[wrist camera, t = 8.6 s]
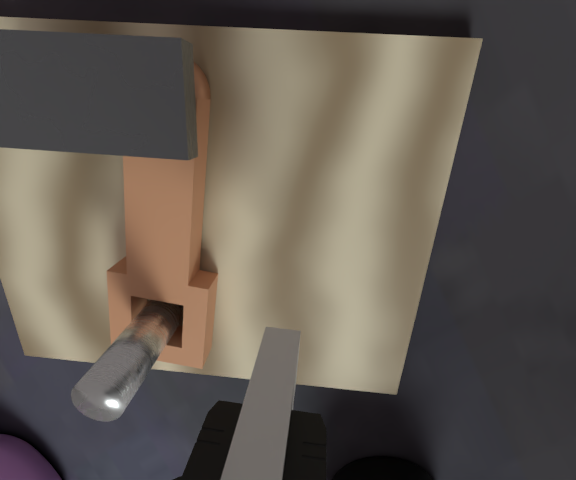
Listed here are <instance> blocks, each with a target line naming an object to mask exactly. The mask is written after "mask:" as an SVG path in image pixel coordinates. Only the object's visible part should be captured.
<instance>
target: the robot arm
mask: <svg viewBox="0 0 576 480" xmlns="http://www.w3.org/2000/svg"><path fill="white" fill-rule="evenodd" d="M300 334H301V331H298V330H290V329H282V328H274V327H266V328H265V331H264V334H263V338H262V341H261V344H260V348H259V351H258V355H257V358H256V361H255V365H254V368H253V371H252V375H251V378H250V382H249V385H248V388H247V392H246V395H245V398H244V402H243V404H240V403H233V402H226V401H218V402H217V403H216V404H215V405H214V406H213V407H212V409H211V410H210V411H209V412H208V414H207V416H206V418H205V421H204V423H203V426H202V430H201V431H200V433H199V436H198V438H197V442H196V443H195V446H194V448H193V451H192V453H191V455H190V458H189V460H188V463H187V465H186V468H185V470H184V473H183V475H182V476H180V477H178V478H176V479H173V480H326V427H325V424H324V422H323V419H322V417H321V415H320V414H315V413H308V412H301V411H294V410H293V403H294V395H295V386H296V377H297V366H298V355H299V344H300Z"/></svg>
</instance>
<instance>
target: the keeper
mask: <svg viewBox="0 0 576 480" xmlns="http://www.w3.org/2000/svg"><path fill="white" fill-rule="evenodd" d="M0 147H1V148H15V149H30V150H44V151H59V152H73V153H88V154H102V155H117V156H131V157H146V158H160V159H175V160H191V159H193V158H196V157H198V143H197V123H196V102H195V82H194V61H193V44H192V43H190V42H188V41H186V40H184V39H182V38H175V37H154V36H133V35H112V34H91V33H70V32H49V31H28V30H7V29H0Z"/></svg>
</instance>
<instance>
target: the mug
mask: <svg viewBox="0 0 576 480" xmlns="http://www.w3.org/2000/svg"><path fill="white" fill-rule="evenodd" d="M333 480H433V479H432V478H431V477H430V475H429V474H428V473H427V472H426V471H425V470H424V469H422V468H421V467H419V466H417V465H416V464H413V463H411V462H409V461H406V460H402V459H398V458H392V457H371V458H365V459H361V460H358V461H355V462H352V463H350V464H348V465H346V466H345V467H344V468H342V469H341V470H340V471H339V472H338V473H337V474H336V475H335V477H334V478H333Z"/></svg>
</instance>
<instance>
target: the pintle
mask: <svg viewBox="0 0 576 480" xmlns="http://www.w3.org/2000/svg"><path fill="white" fill-rule="evenodd" d="M183 309H184V306H183V305H178V304H173V303H167V302H162V301H156V300H150V301H149V302H148V303H147V304H146V305H145V307H144V308H143V309H142V310H141V311H140V312H139V313H138V315H137V316H136V317H135V318H134V319H133V320H132V321H131V323H130V324H129V325H128V326H127V327H126V328H125V329H124V331H123V332H122V333H121V334H120V335H119V336H118V337H117V338H116V340H115V341H114V342H113V343H112V344H111V345H110V346H109V348H108V349H107V350H106V351H105V352H104V353H103V354H102V356H101V357H100V358H99V359H98V360H97V361H96V362H95V364H94V365H93V366H92V367H91V368H90V369H89V370H88V372H87V373H86V374H85V375H84V376H83V377H82V378H81V380H80V381H79V382H78V383H77V384H76V385H75V386H74V388H73V389H72V392H71V399H72V402H73V404H74V405H75V407H76V408H77V409H78V410H79V411H80V412H81V413H82V414H84V415H85V416H87V417H89V418H91V419H94V420H98V421H113V420H116V419H117V418H119V417H120V416H121V415H122V413H123V412H124V410H125V409H126V407H127V406H128V404H129V402H130V401H131V399H132V398H133V396H134V395H135V393H136V392H137V390H138V388H139V387H140V385H141V384H142V382H143V381H144V379H145V377H146V376H147V374H148V373H149V371H150V370H151V368H152V367H153V365H154V363H155V362H156V360H157V359H158V357H159V356H160V354H161V352H162V351H163V349H164V348H165V346H166V345H167V343H168V342H169V340H170V338H171V337H172V335H173V334H174V332H175V331H176V329H177V327H178V326H179V324H180V323H181V321H182V320H183Z"/></svg>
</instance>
